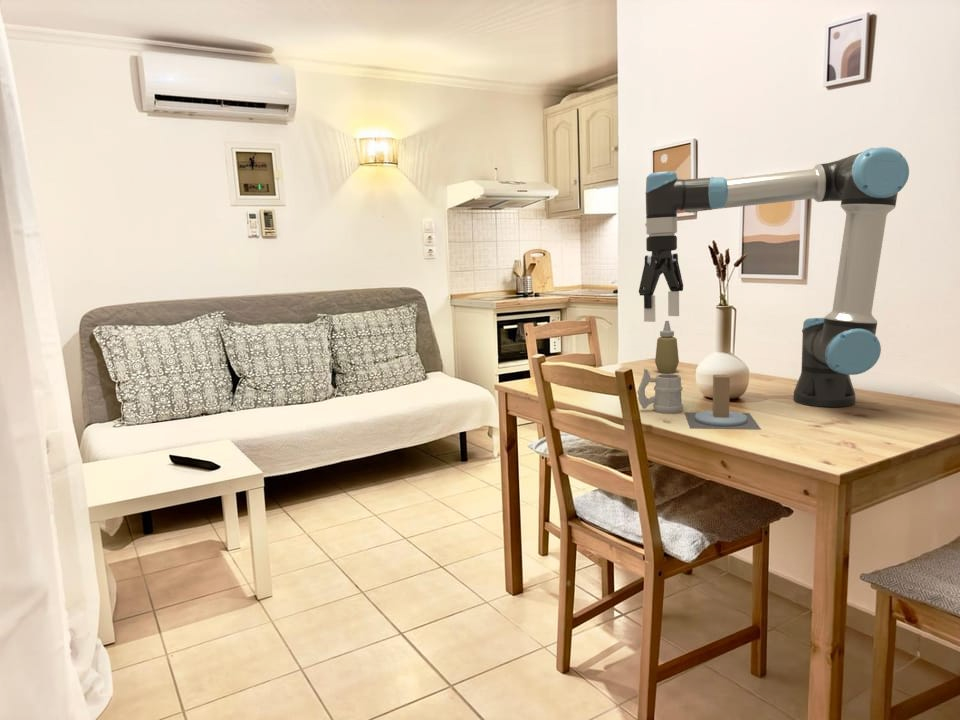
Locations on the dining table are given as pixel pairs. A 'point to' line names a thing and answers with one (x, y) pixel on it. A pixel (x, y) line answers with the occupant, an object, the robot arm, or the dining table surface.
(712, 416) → the lid
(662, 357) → the squeeze bottle
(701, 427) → the mat
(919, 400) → the dining table surface
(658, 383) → the mug
